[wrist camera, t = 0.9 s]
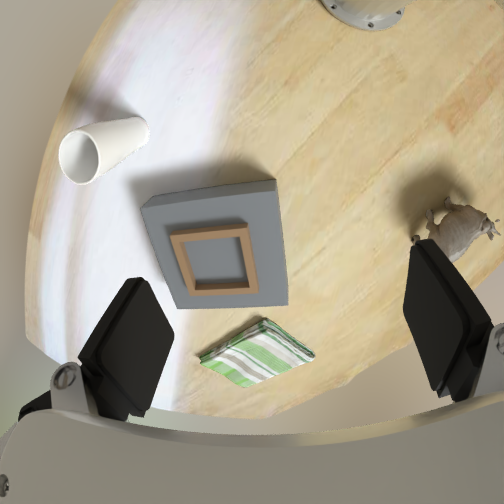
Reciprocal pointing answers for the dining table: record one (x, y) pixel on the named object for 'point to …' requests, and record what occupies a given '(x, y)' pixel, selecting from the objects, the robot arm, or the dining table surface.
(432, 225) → the rhinoceros figurine
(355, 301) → the dining table surface
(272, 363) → the dish towel
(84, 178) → the white tapered cylinder
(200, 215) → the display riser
